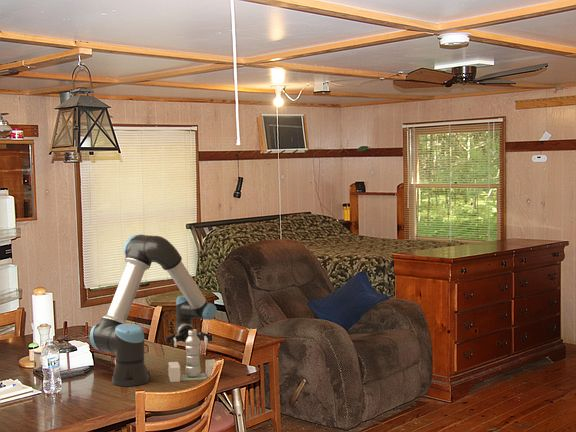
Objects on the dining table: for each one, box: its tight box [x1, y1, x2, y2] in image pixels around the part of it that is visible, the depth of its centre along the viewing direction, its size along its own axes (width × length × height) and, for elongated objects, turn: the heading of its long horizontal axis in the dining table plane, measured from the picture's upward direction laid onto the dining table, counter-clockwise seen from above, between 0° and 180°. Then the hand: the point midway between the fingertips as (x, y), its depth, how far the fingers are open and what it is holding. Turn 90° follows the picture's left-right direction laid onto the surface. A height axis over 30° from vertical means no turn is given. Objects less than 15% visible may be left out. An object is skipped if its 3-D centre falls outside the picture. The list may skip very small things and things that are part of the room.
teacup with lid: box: [32, 343, 45, 370], centre depth 341 cm, size 12×9×12 cm
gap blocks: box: [167, 358, 216, 383], centre depth 329 cm, size 10×20×6 cm, turn 104°
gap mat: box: [180, 372, 208, 382], centre depth 329 cm, size 8×11×1 cm
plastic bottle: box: [184, 328, 202, 377], centre depth 329 cm, size 6×7×20 cm
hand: (191, 343), depth 336 cm, fingers open, 13 cm apart
